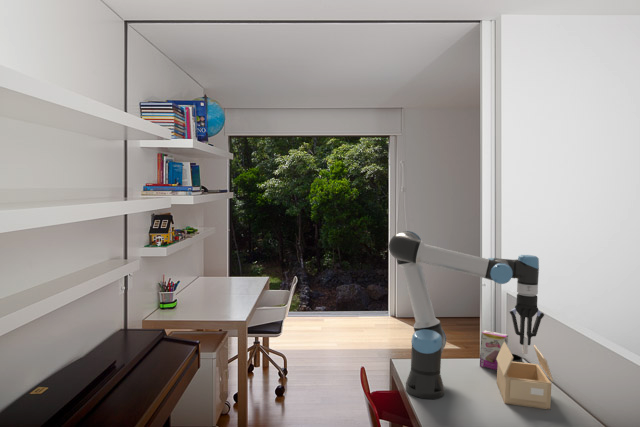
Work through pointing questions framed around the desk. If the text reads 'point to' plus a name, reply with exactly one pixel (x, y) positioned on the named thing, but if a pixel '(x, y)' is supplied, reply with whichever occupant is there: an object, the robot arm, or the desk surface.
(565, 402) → the desk surface
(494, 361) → the candy bar box
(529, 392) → the carton
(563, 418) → the desk surface
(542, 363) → the flap
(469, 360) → the desk surface
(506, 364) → the flap
